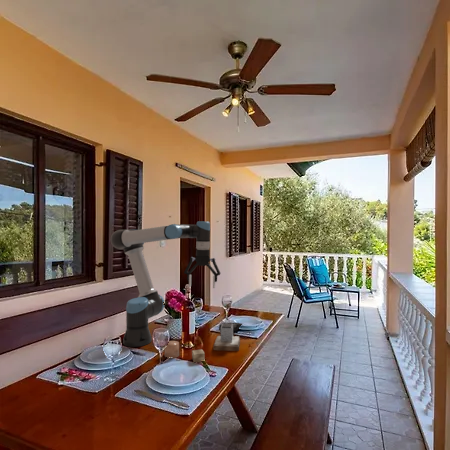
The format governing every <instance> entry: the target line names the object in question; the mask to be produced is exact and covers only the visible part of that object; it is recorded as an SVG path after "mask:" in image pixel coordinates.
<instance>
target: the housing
mask: <svg viewBox="0 0 450 450" xmlns="http://www.w3.org/2000/svg"><path fill="white" fill-rule="evenodd" d="M232 323H233V322H232ZM232 323H228V322H227V323H225V322H223V323H221V324H222V326H221V332H220V334H221V342H229V343H232V341H233V336H234V331H233V324H232Z"/></svg>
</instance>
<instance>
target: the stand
mask: <svg viewBox="0 0 450 450" xmlns="http://www.w3.org/2000/svg"><path fill="white" fill-rule="evenodd" d="M240 346H241V337H240V336H239V335H238V336H237V335H236V336H234V335H233V341H232V343H229V342H221V336H220V335H217V337H216V338H215V340H214V343H213V349H212V350H213V351H229V352H230V351H231V352H233V351H235V352H239V351H240Z"/></svg>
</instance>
